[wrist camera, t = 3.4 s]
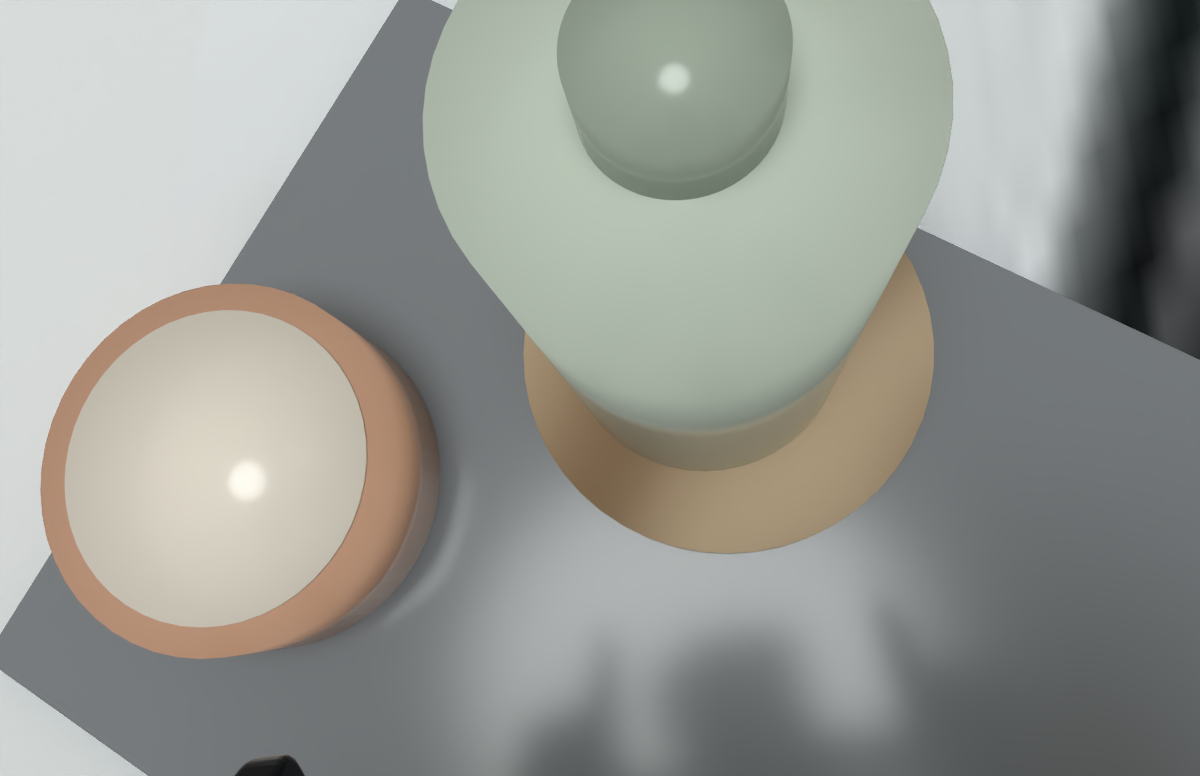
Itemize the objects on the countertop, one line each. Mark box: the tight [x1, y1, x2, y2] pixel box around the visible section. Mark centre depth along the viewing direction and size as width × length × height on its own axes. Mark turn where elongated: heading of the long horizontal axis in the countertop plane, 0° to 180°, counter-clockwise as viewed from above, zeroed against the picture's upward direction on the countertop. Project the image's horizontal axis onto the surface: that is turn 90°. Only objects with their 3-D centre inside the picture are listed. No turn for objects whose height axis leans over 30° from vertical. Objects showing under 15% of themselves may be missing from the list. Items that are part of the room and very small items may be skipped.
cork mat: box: [523, 252, 934, 554], centre depth 22 cm, size 9×9×1 cm
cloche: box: [423, 0, 953, 471], centre depth 16 cm, size 6×6×12 cm
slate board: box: [0, 0, 1200, 776], centre depth 22 cm, size 24×19×1 cm
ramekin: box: [41, 284, 440, 659], centre depth 21 cm, size 8×8×3 cm
